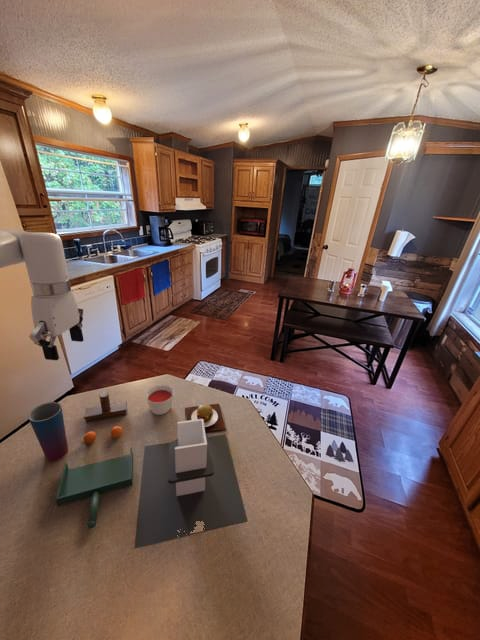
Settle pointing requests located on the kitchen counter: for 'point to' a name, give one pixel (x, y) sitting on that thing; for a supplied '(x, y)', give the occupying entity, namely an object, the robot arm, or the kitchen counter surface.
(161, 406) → the candle
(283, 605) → the kitchen counter surface
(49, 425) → the cup
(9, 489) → the kitchen counter surface
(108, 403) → the brush
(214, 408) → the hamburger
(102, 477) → the dustpan
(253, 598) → the kitchen counter surface
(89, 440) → the crumb
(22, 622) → the kitchen counter surface
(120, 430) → the crumb
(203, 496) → the candle holder
